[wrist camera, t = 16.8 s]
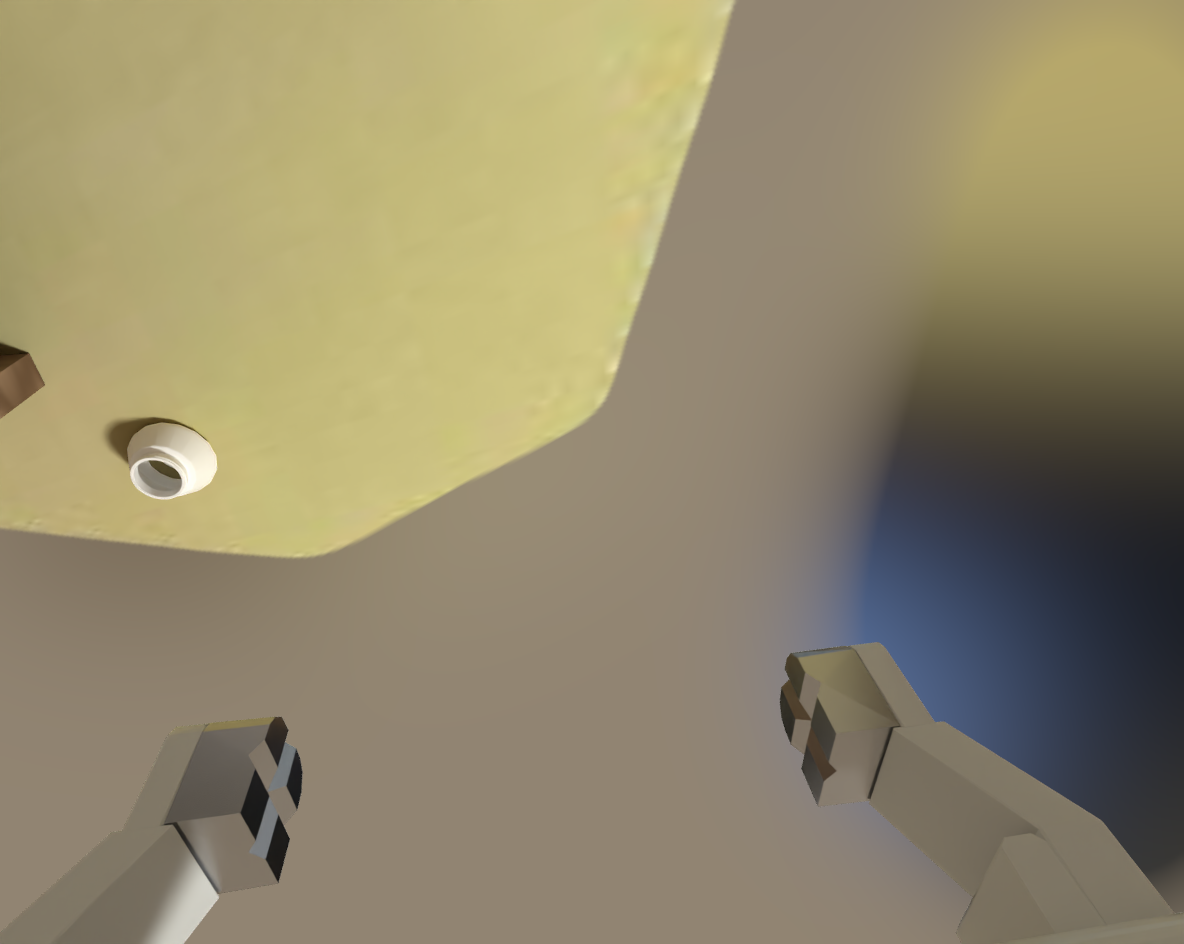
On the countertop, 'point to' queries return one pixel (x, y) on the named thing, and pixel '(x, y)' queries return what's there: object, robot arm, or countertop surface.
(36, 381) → the walnut stand
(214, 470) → the lidless jar
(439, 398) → the countertop surface
